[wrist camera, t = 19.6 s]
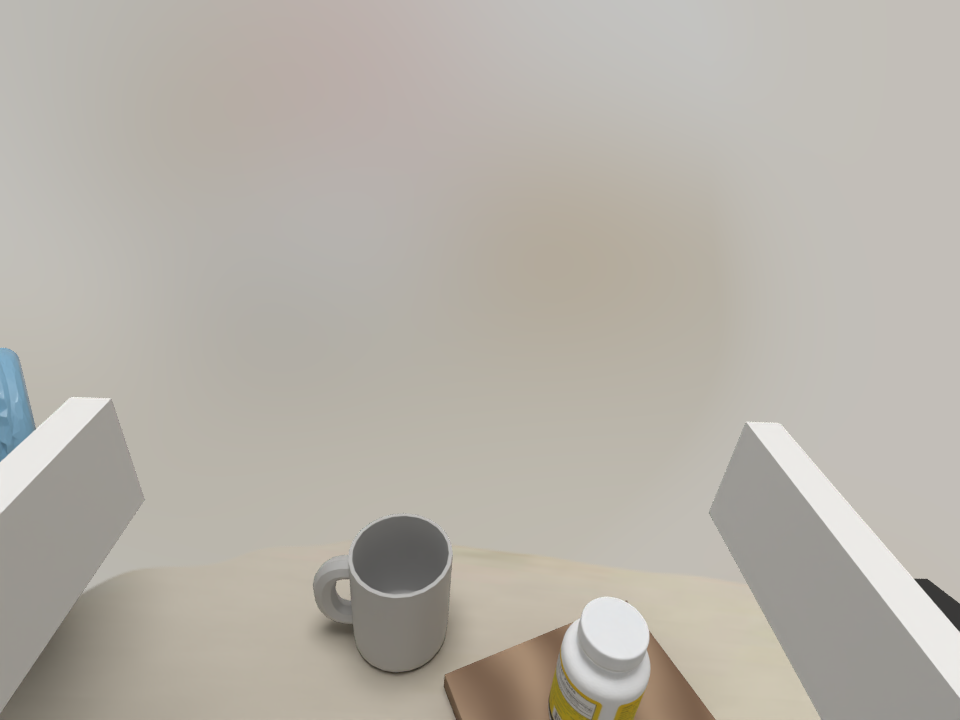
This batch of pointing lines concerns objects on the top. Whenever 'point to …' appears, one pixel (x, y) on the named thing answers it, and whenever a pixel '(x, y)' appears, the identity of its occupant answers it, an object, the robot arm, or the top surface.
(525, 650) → the walnut board
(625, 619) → the supplement bottle
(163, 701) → the top surface
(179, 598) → the top surface
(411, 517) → the cup
